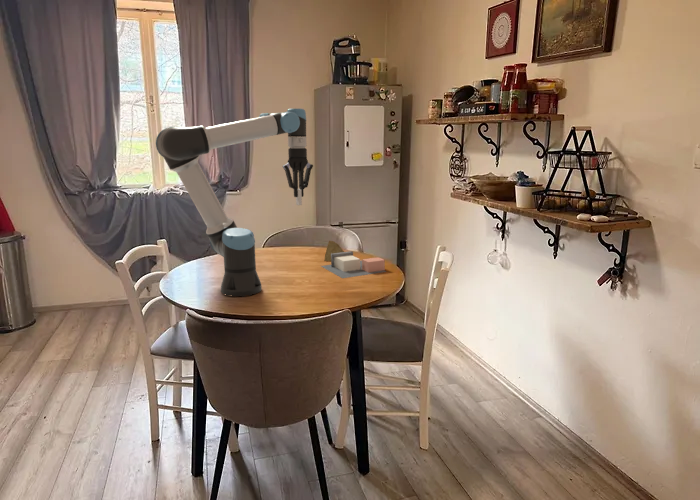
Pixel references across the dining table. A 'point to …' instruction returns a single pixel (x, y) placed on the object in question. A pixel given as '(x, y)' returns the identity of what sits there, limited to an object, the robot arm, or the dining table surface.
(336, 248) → the rock
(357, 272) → the mat
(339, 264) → the clamped cream block
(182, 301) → the dining table surface
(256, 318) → the dining table surface
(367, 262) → the stub
